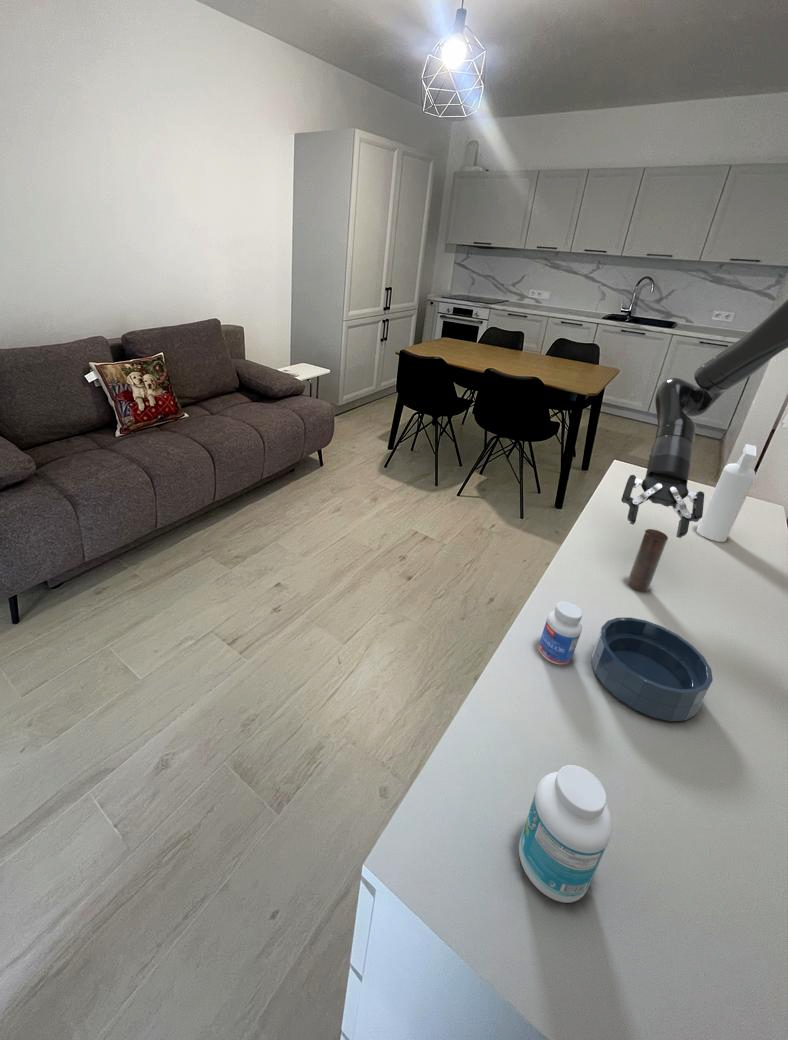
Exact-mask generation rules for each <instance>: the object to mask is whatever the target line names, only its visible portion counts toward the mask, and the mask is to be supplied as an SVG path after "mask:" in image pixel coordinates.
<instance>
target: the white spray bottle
mask: <svg viewBox="0 0 788 1040" xmlns="http://www.w3.org/2000/svg"><path fill="white" fill-rule="evenodd" d="M756 458H757V446H756V445H753V444H748V443H745V445H744V447H743V449H742V454H741V456H740V457H739V459H738V460H737V461H736V463H735V462H734V463H733V462H732V463H727V464H726V465H725V466H724V467H723V470H722V472H721V473H720V476H719V478H718V481H717V483H716V486H715V488H714V490H713V492H712V494H711V497H710V499H709V501H708V503H707V505H706V508H705V509H704V511H703V515H702V518H701V519H700V520H699V523H698V526H697V528H696V533H698V534H699V535H700V536H702V537H703V538H706V539H708V540H711V541H715V542H718V543H721V542H727V538H728V537H729V535H730V533H731V530H732V528H733V526H734V524H735V522H736V520H737V517H738V515H739V513H740V511H741V509H742V507H743V505H744V503H745V501H746V499H747V497H748V494H749V493H750V490H751V488H752V486H753V484H754V482H755V479H756V470H754V469H752V467H751V465H752V464H751V463H752V460H753V461H755V460H756Z"/></svg>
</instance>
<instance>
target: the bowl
mask: <svg viewBox="0 0 788 1040" xmlns="http://www.w3.org/2000/svg"><path fill="white" fill-rule="evenodd" d="M591 665H592V668H593V672H594V674H595V675H596V677H597V678H598V679H599V681H600V682H601V684H602V685H603V687H604V688H606V689H607V690H608V691H609V692H610V693H611V694H612V695H613V696H614V697H615V698H617V699H618V700H619V701H621V702H622V703H624V704H626V706H629V707H630V708H632V709H633V710H635V711H638V712H639V713H642V714H645V715H647V716H649V717H651V718H655V719H659V720H663V721H667V722H684V721H686V720H689V719H692V718H693V717H695V716H696V715H697V713H698V711H699V709H700V708H701V705H702V703H703V702H704V700H705V698H706V696H707V693H708V691H709V689H710V687H711V685H712V683H713V680H714V679H713V672H712V668H711V666H710V665H709V663H708V662H707V660H706V658H705V656H704V655H703V654H702V653H701V652H700V651H699V650H698V649H697V648H696V647H695V646H694V645H693V644H692V643H690V642H689V641H687V640H686V639H684V638H683V637H682V636H680V635H679V634H677V633H676V632H673V631H671V630H670V629H668V628H666V627H664V626H662V625H660V624H657V623H654V622H651V621H649V620H645V619H641V618H635V617H614V618H612V619H608V620H607V621H606V622H605V623H603V625H602V626H601V627H600V631H599V634H598V637H597V639H596V642H595V644H594V648H593V651H592V655H591Z"/></svg>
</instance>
